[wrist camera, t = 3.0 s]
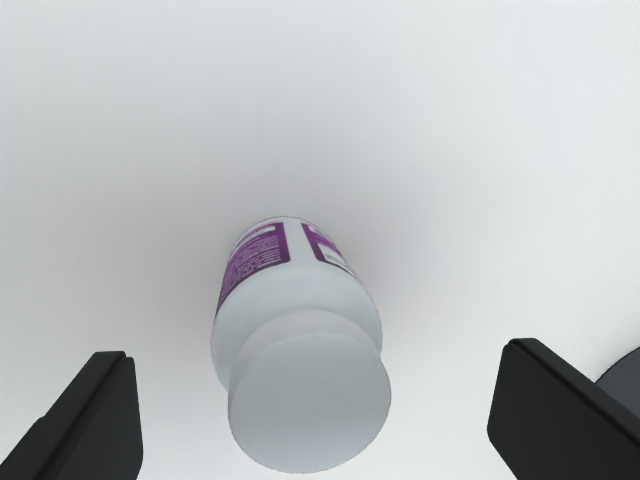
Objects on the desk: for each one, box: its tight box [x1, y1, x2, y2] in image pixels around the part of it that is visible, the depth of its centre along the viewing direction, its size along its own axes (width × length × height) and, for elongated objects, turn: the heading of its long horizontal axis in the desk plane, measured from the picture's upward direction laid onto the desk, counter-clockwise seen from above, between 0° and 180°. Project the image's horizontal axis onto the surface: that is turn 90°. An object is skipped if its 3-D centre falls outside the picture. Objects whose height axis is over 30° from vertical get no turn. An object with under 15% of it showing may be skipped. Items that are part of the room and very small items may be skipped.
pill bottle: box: [211, 217, 391, 473], centre depth 13 cm, size 5×5×10 cm
